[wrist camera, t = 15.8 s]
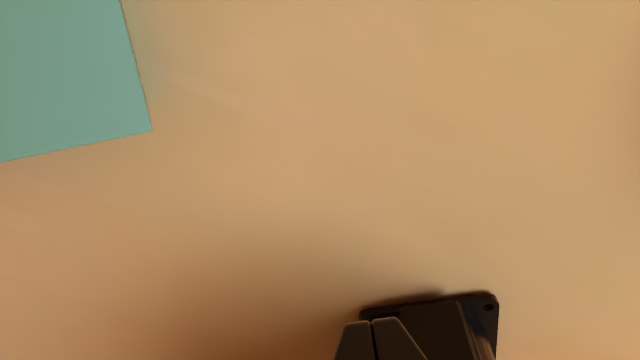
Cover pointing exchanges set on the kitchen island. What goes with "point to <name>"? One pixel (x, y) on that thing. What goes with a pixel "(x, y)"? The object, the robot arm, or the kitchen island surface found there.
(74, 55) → the domino
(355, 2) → the kitchen island surface
